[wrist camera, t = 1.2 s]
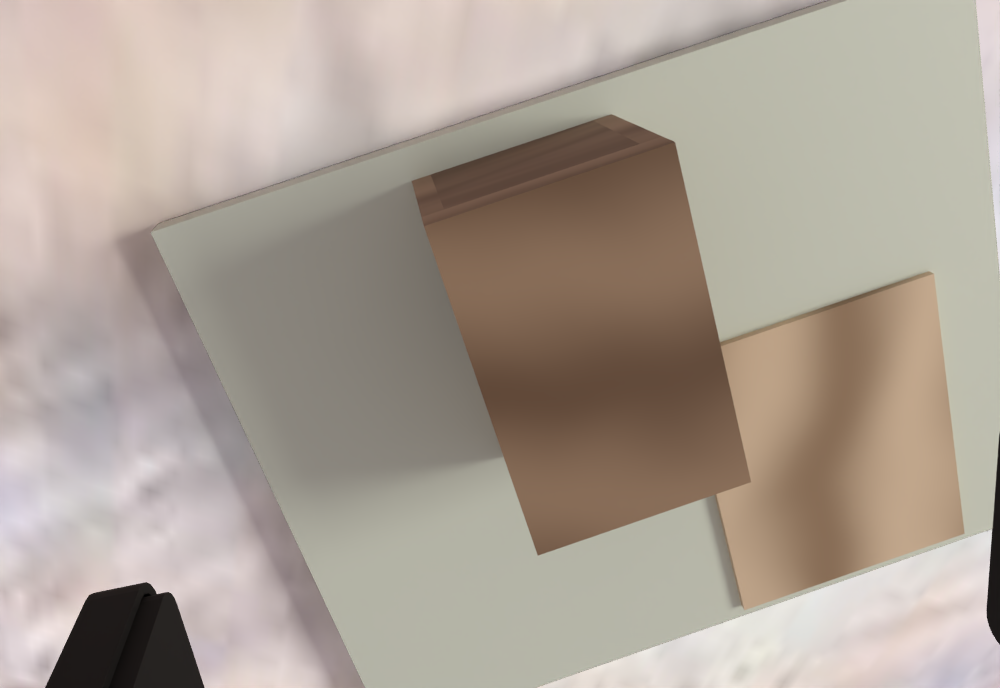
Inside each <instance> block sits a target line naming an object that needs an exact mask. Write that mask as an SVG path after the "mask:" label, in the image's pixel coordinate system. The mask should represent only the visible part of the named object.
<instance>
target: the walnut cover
mask: <svg viewBox="0 0 1000 688" xmlns="http://www.w3.org/2000/svg"><path fill="white" fill-rule="evenodd" d="M412 184H413V188H414V192H415V195H416V199H417V203H418V206H419V210H420V214H421V218H422V221H423V225H424V228H425V231H426V234H427V237H428V240H429V243H430V246H431V248H432V251H433V254H434V257H435V260H436V263H437V266H438V269H439V272H440V274H441V277H442V280H443V283H444V286H445V289H446V292H447V295H448V298H449V300H450V303H451V306H452V309H453V312H454V315H455V318H456V321H457V324H458V326H459V329H460V332H461V335H462V338H463V341H464V344H465V347H466V350H467V353H468V355H469V358H470V361H471V364H472V367H473V370H474V373H475V376H476V379H477V381H478V384H479V387H480V390H481V393H482V396H483V399H484V402H485V405H486V407H487V410H488V413H489V416H490V419H491V422H492V425H493V428H494V431H495V433H496V436H497V439H498V442H499V445H500V448H501V451H502V454H503V457H504V459H505V462H506V465H507V468H508V471H509V474H510V477H511V480H512V483H513V485H514V488H515V491H516V494H517V497H518V500H519V503H520V506H521V509H522V512H523V514H524V517H525V520H526V523H527V526H528V529H529V532H530V535H531V538H532V540H533V543H534V546H535V549H536V552H537V555H541V554H544V553H547V552H550V551H553V550H556V549H559V548H562V547H565V546H567V545H570V544H573V543H576V542H579V541H582V540H585V539H588V538H591V537H594V536H597V535H599V534H602V533H605V532H608V531H611V530H614V529H617V528H620V527H623V526H626V525H628V524H631V523H634V522H637V521H640V520H643V519H646V518H649V517H652V516H655V515H657V514H660V513H663V512H666V511H669V510H672V509H675V508H678V507H681V506H684V505H686V504H689V503H692V502H695V501H698V500H701V499H704V498H707V497H710V496H713V495H715V494H718V493H721V492H724V491H727V490H730V489H733V488H736V487H739V486H742V485H744V484H747V483H750V482H751V479H750V475H749V470H748V466H747V461H746V457H745V452H744V448H743V443H742V439H741V434H740V430H739V425H738V421H737V417H736V412H735V408H734V403H733V399H732V394H731V390H730V385H729V381H728V376H727V372H726V367H725V363H724V358H723V354H722V349H721V345H720V341H719V336H718V332H717V327H716V323H715V318H714V314H713V309H712V305H711V300H710V296H709V291H708V287H707V282H706V278H705V273H704V269H703V265H702V260H701V256H700V251H699V247H698V242H697V238H696V233H695V229H694V224H693V220H692V215H691V211H690V206H689V202H688V197H687V193H686V189H685V184H684V180H683V175H682V171H681V166H680V162H679V157H678V153H677V148H676V144H675V142H674V141H672V140H669V139H667V138H665V137H663V136H660V135H658V134H656V133H653V132H651V131H649V130H647V129H644V128H642V127H640V126H637V125H635V124H633V123H631V122H628V121H626V120H624V119H622V118H619V117H617V116H615V115H612V114H611V115H608V116H605V117H602V118H599V119H596V120H593V121H590V122H587V123H584V124H581V125H578V126H575V127H572V128H569V129H566V130H563V131H560V132H557V133H554V134H551V135H548V136H545V137H542V138H539V139H536V140H533V141H530V142H527V143H524V144H521V145H518V146H515V147H512V148H509V149H506V150H503V151H500V152H497V153H494V154H491V155H488V156H485V157H482V158H479V159H476V160H473V161H470V162H467V163H464V164H461V165H458V166H455V167H452V168H449V169H446V170H443V171H440V172H437V173H434V174H431V175H428V176H425V177H422V178H419V179H416V180H413V181H412Z"/></svg>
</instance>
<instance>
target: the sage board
mask: <svg viewBox="0 0 1000 688" xmlns="http://www.w3.org/2000/svg"><path fill="white" fill-rule="evenodd" d="M611 114H612V115H615V116H617V117H619V118H622V119H624V120H626V121H628V122H631V123H633V124H635V125H637V126H640V127H642V128H644V129H647V130H649V131H651V132H653V133H656V134H658V135H660V136H663V137H665V138H667V139H669V140H672V141H674V142H675V144H676V148H677V153H678V157H679V162H680V166H681V171H682V175H683V180H684V184H685V189H686V193H687V197H688V202H689V206H690V211H691V215H692V220H693V224H694V229H695V233H696V238H697V242H698V247H699V251H700V256H701V260H702V265H703V269H704V273H705V278H706V282H707V287H708V291H709V296H710V300H711V305H712V309H713V314H714V318H715V323H716V327H717V332H718V336H719V341H720V342H723V341H726V340H729V339H732V338H735V337H737V336H740V335H743V334H746V333H749V332H752V331H755V330H758V329H761V328H764V327H767V326H770V325H773V324H776V323H779V322H781V321H784V320H787V319H790V318H793V317H796V316H799V315H802V314H805V313H808V312H811V311H814V310H817V309H820V308H823V307H825V306H828V305H831V304H834V303H837V302H840V301H843V300H846V299H849V298H852V297H855V296H858V295H861V294H864V293H867V292H870V291H872V290H875V289H878V288H881V287H884V286H887V285H890V284H893V283H896V282H899V281H902V280H905V279H908V278H911V277H914V276H916V275H919V274H922V273H925V272H928V271H929V272H931V273H934V278H935V286H936V295H937V303H938V312H939V320H940V329H941V337H942V346H943V354H944V363H945V371H946V380H947V388H948V397H949V405H950V414H951V422H952V431H953V439H954V448H955V456H956V465H957V473H958V482H959V490H960V499H961V507H962V516H963V524H964V533H965V534H962V535H959V536H956V537H953V538H951V539H948V540H945V541H942V542H939V543H936V544H933V545H931V546H928V547H925V548H922V549H919V550H916V551H913V552H910V553H908V554H905V555H902V556H899V557H896V558H893V559H890V560H887V561H885V562H882V563H879V564H876V565H873V566H870V567H867V568H864V569H862V570H859V571H856V572H853V573H850V574H847V575H844V576H841V577H839V578H836V579H833V580H830V581H827V582H824V583H821V584H818V585H816V586H813V587H810V588H807V589H804V590H801V591H798V592H795V593H793V594H790V595H787V596H784V597H781V598H778V599H775V600H773V601H770V602H767V603H764V604H761V605H758V606H755V607H752V608H750V609H747V610H744V608H743V607H742V605H741V601H740V597H739V593H738V589H737V585H736V581H735V576H734V572H733V568H732V564H731V560H730V556H729V552H728V548H727V544H726V540H725V535H724V531H723V527H722V523H721V519H720V515H719V511H718V507H717V503H716V499H715V495H713V496H710V497H707V498H704V499H701V500H698V501H695V502H692V503H689V504H686V505H684V506H681V507H678V508H675V509H672V510H669V511H666V512H663V513H660V514H657V515H655V516H652V517H649V518H646V519H643V520H640V521H637V522H634V523H631V524H628V525H626V526H623V527H620V528H617V529H614V530H611V531H608V532H605V533H602V534H599V535H597V536H594V537H591V538H588V539H585V540H582V541H579V542H576V543H573V544H570V545H567V546H565V547H562V548H559V549H556V550H553V551H550V552H547V553H544V554H541V555H537V552H536V549H535V546H534V543H533V540H532V538H531V535H530V532H529V529H528V526H527V523H526V520H525V517H524V514H523V512H522V509H521V506H520V503H519V500H518V497H517V494H516V491H515V488H514V485H513V483H512V480H511V477H510V474H509V471H508V468H507V465H506V462H505V459H504V457H503V454H502V451H501V448H500V445H499V442H498V439H497V436H496V433H495V431H494V428H493V425H492V422H491V419H490V416H489V413H488V410H487V407H486V405H485V402H484V399H483V396H482V393H481V390H480V387H479V384H478V381H477V379H476V376H475V373H474V370H473V367H472V364H471V361H470V358H469V355H468V353H467V350H466V347H465V344H464V341H463V338H462V335H461V332H460V329H459V326H458V324H457V321H456V318H455V315H454V312H453V309H452V306H451V303H450V300H449V298H448V295H447V292H446V289H445V286H444V283H443V280H442V277H441V274H440V272H439V269H438V266H437V263H436V260H435V257H434V254H433V251H432V248H431V246H430V243H429V240H428V237H427V234H426V231H425V228H424V225H423V221H422V218H421V214H420V210H419V206H418V203H417V199H416V195H415V192H414V188H413V184H412V181H413V180H416V179H419V178H422V177H425V176H428V175H431V174H434V173H437V172H440V171H443V170H446V169H449V168H452V167H455V166H458V165H461V164H464V163H467V162H470V161H473V160H476V159H479V158H482V157H485V156H488V155H491V154H494V153H497V152H500V151H503V150H506V149H509V148H512V147H515V146H518V145H521V144H524V143H527V142H530V141H533V140H536V139H539V138H542V137H545V136H548V135H551V134H554V133H557V132H560V131H563V130H566V129H569V128H572V127H575V126H578V125H581V124H584V123H587V122H590V121H593V120H596V119H599V118H602V117H605V116H608V115H611ZM151 234H152V237H153V239H154V241H155V243H156V245H157V247H158V249H159V251H160V254H161V256H162V258H163V260H164V262H165V264H166V266H167V268H168V271H169V273H170V275H171V277H172V279H173V281H174V283H175V285H176V288H177V290H178V292H179V294H180V296H181V298H182V300H183V302H184V305H185V307H186V309H187V311H188V313H189V315H190V317H191V319H192V322H193V324H194V326H195V328H196V330H197V332H198V334H199V336H200V339H201V341H202V343H203V345H204V347H205V349H206V351H207V353H208V356H209V358H210V360H211V362H212V364H213V366H214V368H215V370H216V373H217V375H218V377H219V379H220V381H221V383H222V385H223V387H224V389H225V392H226V394H227V396H228V398H229V400H230V402H231V404H232V406H233V409H234V411H235V413H236V415H237V417H238V419H239V421H240V423H241V426H242V428H243V430H244V432H245V434H246V436H247V438H248V440H249V443H250V445H251V447H252V449H253V451H254V453H255V455H256V457H257V460H258V462H259V464H260V466H261V468H262V470H263V472H264V474H265V477H266V479H267V481H268V483H269V485H270V487H271V489H272V491H273V494H274V496H275V498H276V500H277V502H278V504H279V506H280V508H281V511H282V513H283V515H284V517H285V519H286V521H287V523H288V525H289V528H290V530H291V532H292V534H293V536H294V538H295V540H296V542H297V545H298V547H299V549H300V551H301V553H302V555H303V557H304V559H305V562H306V564H307V566H308V568H309V570H310V572H311V574H312V576H313V578H314V581H315V583H316V585H317V587H318V589H319V591H320V593H321V595H322V598H323V600H324V602H325V604H326V606H327V608H328V610H329V612H330V615H331V617H332V619H333V621H334V623H335V625H336V627H337V629H338V632H339V634H340V636H341V638H342V640H343V642H344V644H345V646H346V649H347V651H348V653H349V655H350V657H351V659H352V661H353V663H354V666H355V668H356V670H357V672H358V674H359V676H360V678H361V680H362V683H363V685H364V687H365V688H537V687H539V686H542V685H545V684H548V683H551V682H554V681H557V680H560V679H562V678H565V677H568V676H571V675H574V674H577V673H580V672H582V671H585V670H588V669H591V668H594V667H597V666H600V665H603V664H605V663H608V662H611V661H614V660H617V659H620V658H623V657H626V656H628V655H631V654H634V653H637V652H640V651H643V650H646V649H649V648H651V647H654V646H657V645H660V644H663V643H666V642H669V641H672V640H674V639H677V638H680V637H683V636H686V635H689V634H692V633H694V632H697V631H700V630H703V629H706V628H709V627H712V626H715V625H717V624H720V623H723V622H726V621H729V620H732V619H735V618H738V617H740V616H743V615H746V614H749V613H752V612H755V611H758V610H761V609H763V608H766V607H769V606H772V605H775V604H778V603H781V602H784V601H786V600H789V599H792V598H795V597H798V596H801V595H804V594H806V593H809V592H812V591H815V590H818V589H821V588H824V587H827V586H829V585H832V584H835V583H838V582H841V581H844V580H847V579H850V578H852V577H855V576H858V575H861V574H864V573H867V572H870V571H873V570H875V569H878V568H881V567H884V566H887V565H890V564H893V563H896V562H898V561H901V560H904V559H907V558H910V557H913V556H916V555H918V554H921V553H924V552H927V551H930V550H933V549H936V548H939V547H941V546H944V545H947V544H950V543H953V542H956V541H959V540H962V539H964V538H967V537H970V536H973V535H976V534H979V533H982V532H985V531H987V530H990V529H992V528H993V514H994V500H995V486H996V472H997V458H998V444H999V433H1000V274H999V263H998V251H997V240H996V228H995V217H994V205H993V194H992V183H991V171H990V160H989V148H988V137H987V125H986V114H985V102H984V91H983V79H982V68H981V57H980V45H979V34H978V22H977V11H976V0H828V1H825V2H822V3H819V4H816V5H813V6H810V7H807V8H804V9H801V10H798V11H795V12H792V13H789V14H786V15H783V16H780V17H777V18H774V19H771V20H768V21H765V22H762V23H759V24H756V25H753V26H750V27H747V28H744V29H741V30H738V31H735V32H732V33H729V34H726V35H723V36H720V37H717V38H714V39H711V40H708V41H705V42H702V43H699V44H696V45H693V46H690V47H687V48H684V49H681V50H678V51H675V52H672V53H669V54H666V55H663V56H660V57H657V58H654V59H651V60H648V61H645V62H642V63H639V64H636V65H633V66H630V67H627V68H624V69H621V70H618V71H615V72H612V73H609V74H606V75H603V76H600V77H597V78H594V79H591V80H588V81H585V82H582V83H579V84H576V85H573V86H570V87H567V88H564V89H561V90H558V91H555V92H552V93H549V94H546V95H543V96H540V97H537V98H534V99H531V100H528V101H525V102H522V103H519V104H516V105H513V106H510V107H507V108H504V109H501V110H498V111H495V112H492V113H489V114H486V115H483V116H480V117H477V118H474V119H471V120H468V121H465V122H462V123H459V124H456V125H453V126H450V127H447V128H444V129H441V130H438V131H435V132H432V133H429V134H426V135H423V136H420V137H417V138H414V139H411V140H408V141H405V142H402V143H399V144H396V145H393V146H390V147H387V148H384V149H381V150H378V151H375V152H372V153H369V154H366V155H363V156H360V157H357V158H354V159H351V160H348V161H345V162H342V163H339V164H336V165H333V166H330V167H327V168H324V169H321V170H318V171H315V172H312V173H309V174H306V175H303V176H300V177H297V178H294V179H291V180H288V181H285V182H282V183H279V184H276V185H273V186H270V187H267V188H264V189H261V190H258V191H255V192H252V193H249V194H246V195H243V196H240V197H237V198H234V199H231V200H228V201H224V202H221V203H218V204H215V205H212V206H209V207H206V208H203V209H200V210H197V211H194V212H191V213H188V214H185V215H182V216H179V217H176V218H173V219H170V220H167V221H164V222H161V223H159V224H158V225H157V226H156V227H155V228H154V229H153V230H152V231H151Z"/></svg>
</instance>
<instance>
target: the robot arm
mask: <svg viewBox="0 0 1000 688" xmlns="http://www.w3.org/2000/svg"><path fill="white" fill-rule="evenodd" d="M987 619H988V623H989V627H990V629H991V631H992V634H993V635H994V637H995V639H996V640H997V642H998V643H999V644H1000V433H999V444H998V458H997V472H996V486H995V500H994V514H993V528H992V542H991V557H990V571H989V585H988V599H987ZM45 688H204V685H203V682H202V679H201V676H200V673H199V670H198V667H197V664H196V661H195V658H194V654H193V651H192V648H191V645H190V642H189V639H188V636H187V633H186V630H185V627H184V624H183V621H182V618H181V615H180V612H179V609H178V606H177V603H176V601H175V598H174V597H173V595H172V594H171V593H169V592H166V593H161V594H156V591H155V590H154V588H153V587H152V586H151V584H149V583H147V582H146V583H141V584H136V585H131V586H126V587H121V588H116V589H111V590H106V591H101V592H96V593H93V594H91V595H89V597H88V598H87V599H86V601H85V603H84V605H83V607H82V609H81V612H80V614H79V616H78V618H77V620H76V622H75V625H74V627H73V629H72V631H71V633H70V635H69V638H68V640H67V642H66V644H65V646H64V648H63V651H62V653H61V655H60V657H59V659H58V661H57V663H56V666H55V668H54V670H53V672H52V674H51V676H50V679H49V681H48V683H47V685H46V687H45Z"/></svg>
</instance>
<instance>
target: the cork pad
mask: <svg viewBox="0 0 1000 688" xmlns="http://www.w3.org/2000/svg"><path fill="white" fill-rule="evenodd" d="M720 345H721V349H722V354H723V358H724V363H725V367H726V372H727V376H728V381H729V385H730V390H731V394H732V399H733V403H734V408H735V412H736V417H737V421H738V425H739V430H740V434H741V439H742V443H743V448H744V452H745V457H746V461H747V466H748V470H749V475H750V479H751V482H750V483H747V484H744V485H742V486H739V487H736V488H733V489H730V490H727V491H724V492H721V493H718V494H715V499H716V503H717V507H718V511H719V515H720V519H721V523H722V527H723V531H724V535H725V540H726V544H727V548H728V552H729V556H730V560H731V564H732V568H733V572H734V576H735V581H736V585H737V589H738V593H739V597H740V601H741V605H742V607H743V608H744V610H747V609H750V608H752V607H755V606H758V605H761V604H764V603H767V602H770V601H773V600H775V599H778V598H781V597H784V596H787V595H790V594H793V593H795V592H798V591H801V590H804V589H807V588H810V587H813V586H816V585H818V584H821V583H824V582H827V581H830V580H833V579H836V578H839V577H841V576H844V575H847V574H850V573H853V572H856V571H859V570H862V569H864V568H867V567H870V566H873V565H876V564H879V563H882V562H885V561H887V560H890V559H893V558H896V557H899V556H902V555H905V554H908V553H910V552H913V551H916V550H919V549H922V548H925V547H928V546H931V545H933V544H936V543H939V542H942V541H945V540H948V539H951V538H953V537H956V536H959V535H962V534H965V533H964V524H963V516H962V507H961V499H960V490H959V482H958V473H957V465H956V456H955V448H954V439H953V431H952V422H951V414H950V405H949V397H948V388H947V380H946V371H945V363H944V354H943V346H942V337H941V329H940V320H939V312H938V303H937V295H936V286H935V278H934V273H931V272H929V271H928V272H925V273H922V274H919V275H916V276H914V277H911V278H908V279H905V280H902V281H899V282H896V283H893V284H890V285H887V286H884V287H881V288H878V289H875V290H872V291H870V292H867V293H864V294H861V295H858V296H855V297H852V298H849V299H846V300H843V301H840V302H837V303H834V304H831V305H828V306H825V307H823V308H820V309H817V310H814V311H811V312H808V313H805V314H802V315H799V316H796V317H793V318H790V319H787V320H784V321H781V322H779V323H776V324H773V325H770V326H767V327H764V328H761V329H758V330H755V331H752V332H749V333H746V334H743V335H740V336H737V337H735V338H732V339H729V340H726V341H723V342H720Z"/></svg>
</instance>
